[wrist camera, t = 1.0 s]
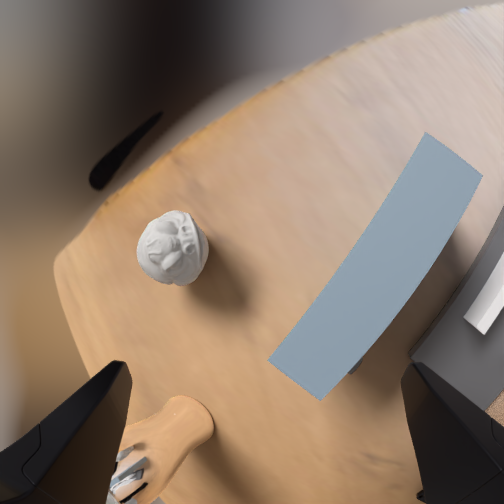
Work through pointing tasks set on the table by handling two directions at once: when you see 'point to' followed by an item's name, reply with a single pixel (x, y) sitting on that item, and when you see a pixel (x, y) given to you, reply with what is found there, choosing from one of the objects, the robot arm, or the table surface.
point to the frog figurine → (173, 249)
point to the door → (379, 269)
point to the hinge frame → (472, 328)
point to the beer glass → (157, 450)
